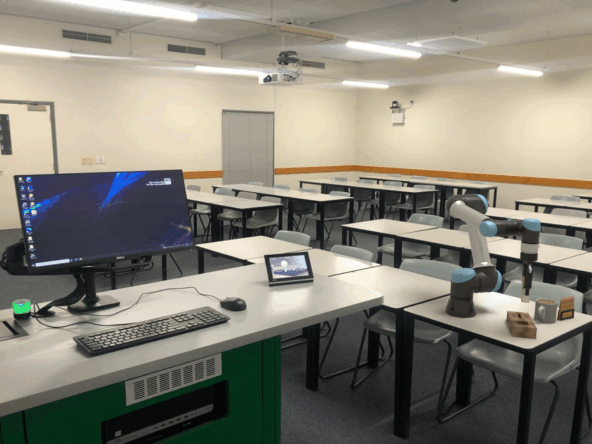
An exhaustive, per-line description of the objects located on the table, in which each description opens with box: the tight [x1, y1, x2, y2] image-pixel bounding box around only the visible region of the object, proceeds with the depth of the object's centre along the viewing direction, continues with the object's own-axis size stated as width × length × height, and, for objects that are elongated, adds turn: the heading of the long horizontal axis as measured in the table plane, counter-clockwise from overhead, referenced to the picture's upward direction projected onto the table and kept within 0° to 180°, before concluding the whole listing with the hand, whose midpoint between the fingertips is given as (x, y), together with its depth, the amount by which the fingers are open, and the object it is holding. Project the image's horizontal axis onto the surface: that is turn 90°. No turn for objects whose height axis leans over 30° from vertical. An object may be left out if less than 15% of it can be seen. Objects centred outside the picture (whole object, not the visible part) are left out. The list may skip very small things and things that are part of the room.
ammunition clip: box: [556, 295, 575, 322], centre depth 257 cm, size 11×2×12 cm, turn 116°
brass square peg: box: [520, 276, 531, 304], centre depth 235 cm, size 3×3×12 cm
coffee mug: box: [533, 297, 558, 324], centre depth 254 cm, size 13×10×10 cm
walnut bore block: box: [506, 310, 538, 339], centre depth 243 cm, size 10×22×5 cm, turn 165°
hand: (525, 300), depth 235 cm, fingers closed on brass square peg, 3 cm apart
